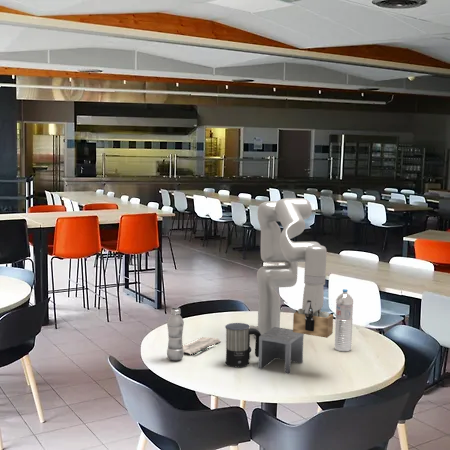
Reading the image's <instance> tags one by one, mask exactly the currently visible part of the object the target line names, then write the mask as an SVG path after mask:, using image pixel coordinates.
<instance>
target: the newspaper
mask: <svg viewBox="0 0 450 450" xmlns="http://www.w3.org/2000/svg"><path fill="white" fill-rule="evenodd" d="M199 338H200V339H199ZM199 338H197V339H198V340H197V341H195V342H193V343H190V344H188V345H185V344H183V345H184V346H183V351H184V353H186V354H190V356H191V354H192V355H193V353H194V354H195V353H197V352H198V351H200V350H202V349H203V350H204V349H206V348H207V347H209V346H212V345H214V344H216V343H218V344H219V342H220V343H221V342H222V340H220V339H219V338H215V337H214V338H213V337H203V336H202V338H201V337H199Z"/></svg>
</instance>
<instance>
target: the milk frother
mask: <svg viewBox="0 0 450 450" xmlns="http://www.w3.org/2000/svg"><path fill="white" fill-rule="evenodd" d="M250 326H251V325H250V324H247V323H243V322H234V323H233V322H232V323H228V324H226V325H224V328H225V330H226V333H225V336H226V337H225V338H226V339H225V344H226V345H225V347H226V348H225V349H226V350H225V351H226V353H225V362H224V363H225V366H228V367H231V368H245V367H247V366H249V365H250V358H251V357H250V356H251V355H250V354H251V352H252V347H251V341H250V340H251V339H250V338H251V336H250V335H253V336H254V335H255V336H256V339H255V343H254V345H255V346H254V347H255V348H254V355H255V357H256V358H259V336H261V333H260V332H259V331H258V330H257V329H254V328H250Z"/></svg>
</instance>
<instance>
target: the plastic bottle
mask: <svg viewBox="0 0 450 450" xmlns="http://www.w3.org/2000/svg"><path fill="white" fill-rule="evenodd" d="M181 313H182V312H181V308H180V307H172V308H170V316H169V318H168V319H167V322H166V324H167V332H168V333H167V334H168V336H167V337H168V343H167V349H166V356H167V359H168V360H169V361H181V360H182V359H183V358H184V354H185V352H184V351H183V345H184V344H183V334H184V325H185V324H184V323H185V322H184V319H183V317H182V316H181Z"/></svg>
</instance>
